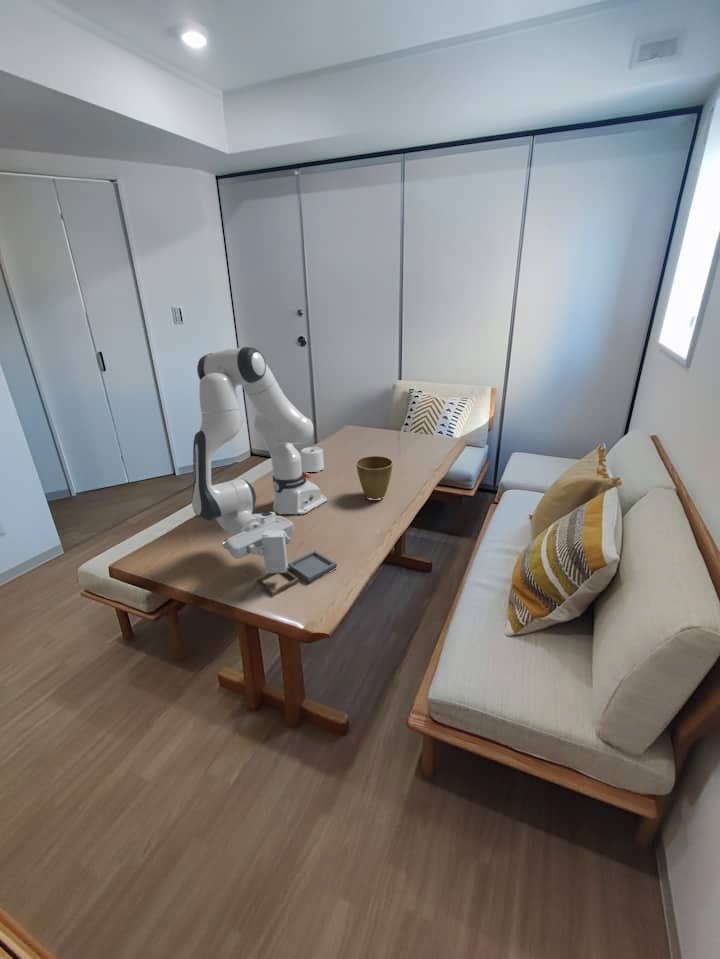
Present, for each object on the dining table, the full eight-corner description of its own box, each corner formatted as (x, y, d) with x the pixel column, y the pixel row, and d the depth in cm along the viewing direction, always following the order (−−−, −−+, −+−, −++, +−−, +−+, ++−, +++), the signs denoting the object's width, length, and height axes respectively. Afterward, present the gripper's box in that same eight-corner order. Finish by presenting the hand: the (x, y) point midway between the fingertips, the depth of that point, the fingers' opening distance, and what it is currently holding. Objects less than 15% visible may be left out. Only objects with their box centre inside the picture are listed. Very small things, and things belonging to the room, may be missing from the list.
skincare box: (287, 565, 126) (285, 529, 121) (286, 573, 122) (283, 536, 117) (267, 565, 125) (264, 529, 121) (264, 574, 121) (261, 537, 117)
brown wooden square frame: (281, 569, 131) (281, 566, 130) (299, 582, 125) (299, 578, 124) (256, 582, 125) (255, 579, 125) (273, 596, 119) (273, 592, 119)
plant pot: (364, 488, 187) (363, 454, 181) (396, 493, 182) (397, 458, 176) (351, 502, 174) (350, 466, 168) (385, 507, 169) (386, 470, 163)
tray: (315, 555, 138) (314, 550, 137) (336, 568, 131) (336, 563, 130) (288, 569, 131) (288, 563, 130) (309, 583, 124) (309, 578, 123)
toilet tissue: (327, 466, 213) (326, 447, 209) (319, 475, 202) (317, 455, 198) (307, 464, 215) (305, 446, 211) (298, 473, 204) (296, 453, 200)
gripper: (217, 533, 121) (242, 552, 112) (277, 509, 134) (303, 524, 125) (220, 552, 124) (245, 572, 114) (279, 526, 137) (305, 542, 128)
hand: (276, 547), depth 120 cm, fingers closed on skincare box, 7 cm apart
